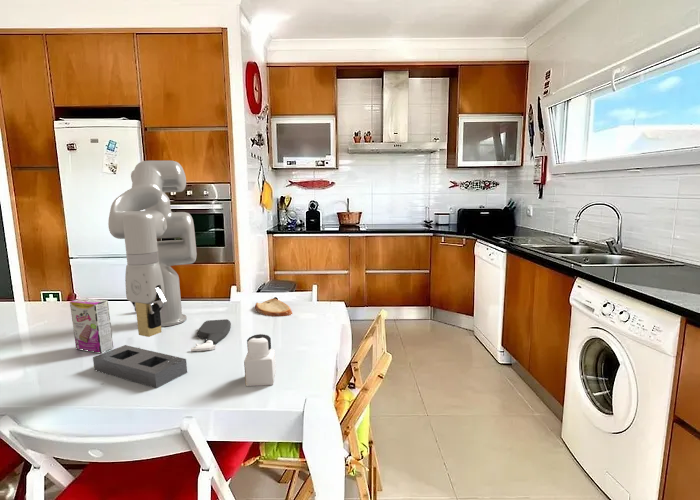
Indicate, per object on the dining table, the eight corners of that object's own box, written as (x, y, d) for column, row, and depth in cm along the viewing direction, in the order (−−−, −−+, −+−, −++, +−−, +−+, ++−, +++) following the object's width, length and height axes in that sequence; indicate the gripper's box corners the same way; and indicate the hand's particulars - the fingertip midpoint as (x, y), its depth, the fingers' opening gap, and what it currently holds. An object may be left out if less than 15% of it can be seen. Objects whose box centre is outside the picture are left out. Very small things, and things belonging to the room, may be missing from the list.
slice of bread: (290, 317, 165) (290, 308, 164) (246, 317, 166) (245, 308, 165) (299, 304, 182) (299, 296, 182) (259, 304, 184) (258, 296, 183)
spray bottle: (233, 326, 156) (221, 352, 132) (202, 328, 154) (186, 355, 130) (232, 318, 155) (221, 343, 131) (202, 320, 154) (185, 346, 130)
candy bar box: (74, 350, 134) (68, 301, 132) (89, 345, 139) (83, 297, 137) (100, 354, 131) (94, 303, 128) (114, 348, 135) (108, 299, 133)
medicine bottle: (249, 374, 114) (247, 332, 112) (276, 373, 114) (273, 331, 113) (245, 387, 107) (242, 342, 105) (273, 385, 107) (271, 340, 106)
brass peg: (138, 335, 112) (135, 298, 110) (151, 330, 115) (148, 295, 114) (148, 336, 110) (145, 300, 109) (161, 332, 113) (158, 296, 112)
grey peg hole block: (94, 370, 119) (92, 357, 118) (126, 357, 128) (125, 345, 127) (156, 388, 107) (154, 373, 107) (187, 372, 116) (186, 358, 115)
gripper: (109, 260, 110) (116, 326, 113) (152, 263, 103) (158, 334, 105) (135, 255, 117) (141, 318, 119) (176, 258, 109) (182, 325, 112)
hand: (149, 325), depth 112 cm, fingers closed on brass peg, 4 cm apart
